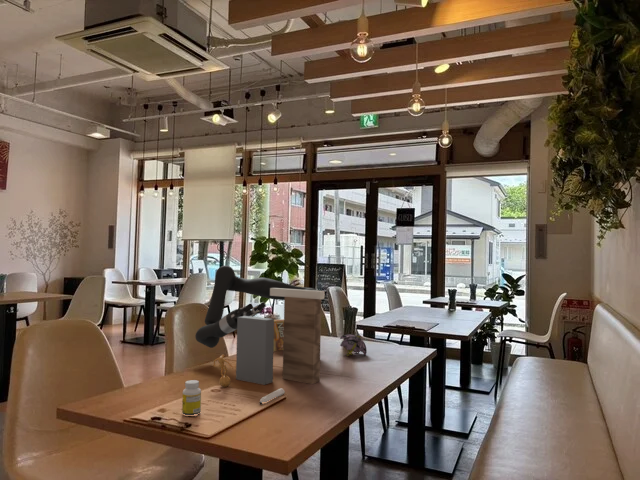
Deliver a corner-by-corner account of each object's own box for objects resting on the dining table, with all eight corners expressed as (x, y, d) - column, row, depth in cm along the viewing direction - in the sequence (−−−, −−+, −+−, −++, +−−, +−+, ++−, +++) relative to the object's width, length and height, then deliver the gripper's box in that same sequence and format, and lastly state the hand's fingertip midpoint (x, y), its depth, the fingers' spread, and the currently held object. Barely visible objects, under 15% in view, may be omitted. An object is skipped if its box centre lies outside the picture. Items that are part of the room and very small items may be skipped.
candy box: (282, 348, 254) (283, 319, 254) (287, 349, 250) (288, 319, 251) (268, 350, 248) (269, 320, 249) (273, 351, 245) (273, 321, 245)
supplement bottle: (183, 411, 149) (184, 379, 149) (201, 411, 149) (202, 379, 150) (180, 417, 143) (181, 384, 144) (199, 417, 144) (200, 384, 144)
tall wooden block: (289, 376, 196) (291, 296, 197) (319, 381, 188) (321, 298, 189) (282, 378, 191) (284, 296, 192) (312, 384, 184) (314, 299, 185)
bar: (274, 295, 200) (274, 287, 200) (324, 298, 188) (324, 291, 188) (269, 295, 197) (270, 288, 198) (320, 299, 185) (320, 291, 185)
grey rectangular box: (244, 376, 193) (245, 315, 194) (272, 382, 186) (274, 318, 187) (235, 379, 189) (237, 317, 190) (264, 384, 182) (266, 320, 182)
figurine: (237, 386, 178) (238, 353, 178) (228, 390, 172) (228, 356, 173) (218, 384, 181) (219, 351, 182) (208, 387, 176) (209, 354, 176)
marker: (257, 409, 156) (280, 396, 171) (262, 406, 155) (285, 393, 170) (254, 401, 156) (277, 389, 171) (259, 399, 156) (282, 386, 170)
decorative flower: (375, 337, 236) (347, 328, 233) (371, 361, 231) (342, 352, 229) (364, 340, 249) (337, 332, 246) (360, 363, 245) (332, 355, 242)
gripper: (217, 315, 204) (244, 297, 197) (240, 312, 216) (265, 295, 209) (224, 331, 202) (250, 314, 195) (246, 327, 214) (272, 311, 207)
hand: (258, 304), depth 202 cm, fingers open, 8 cm apart
